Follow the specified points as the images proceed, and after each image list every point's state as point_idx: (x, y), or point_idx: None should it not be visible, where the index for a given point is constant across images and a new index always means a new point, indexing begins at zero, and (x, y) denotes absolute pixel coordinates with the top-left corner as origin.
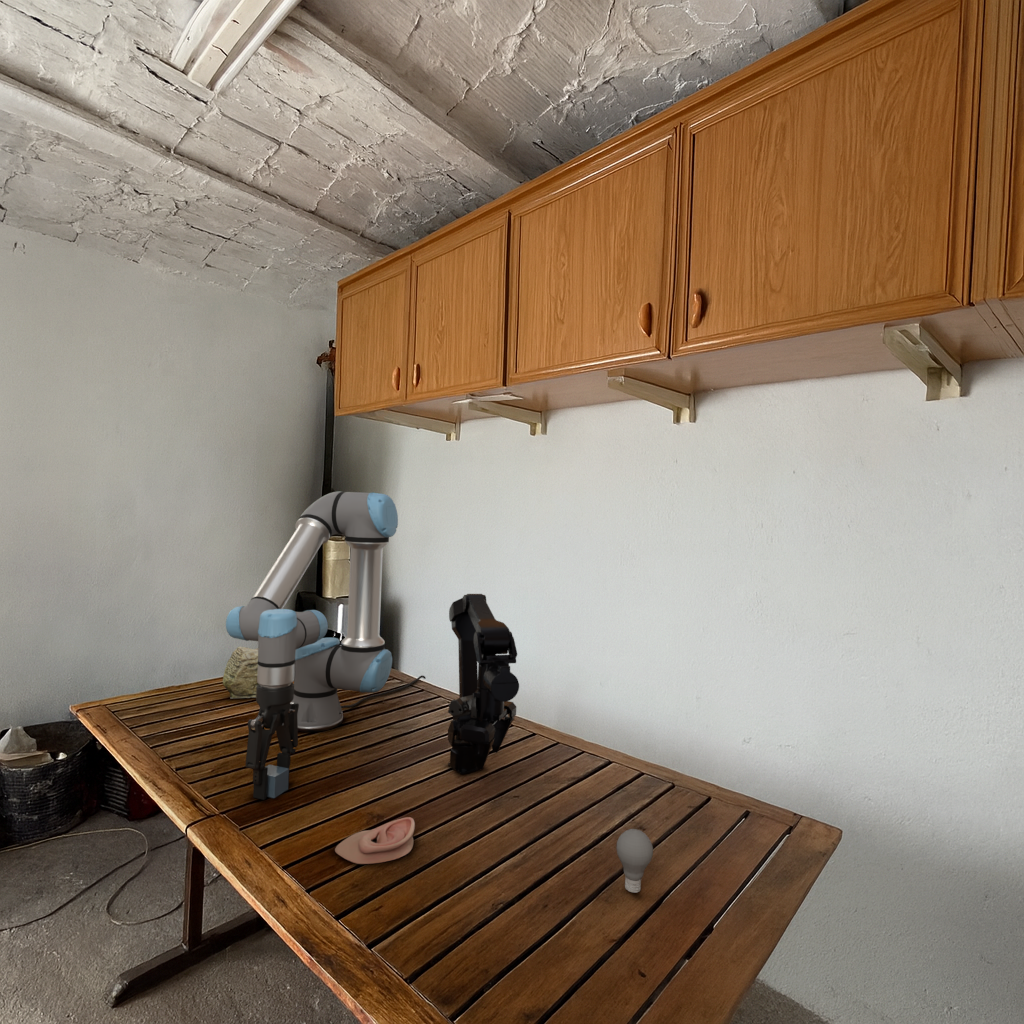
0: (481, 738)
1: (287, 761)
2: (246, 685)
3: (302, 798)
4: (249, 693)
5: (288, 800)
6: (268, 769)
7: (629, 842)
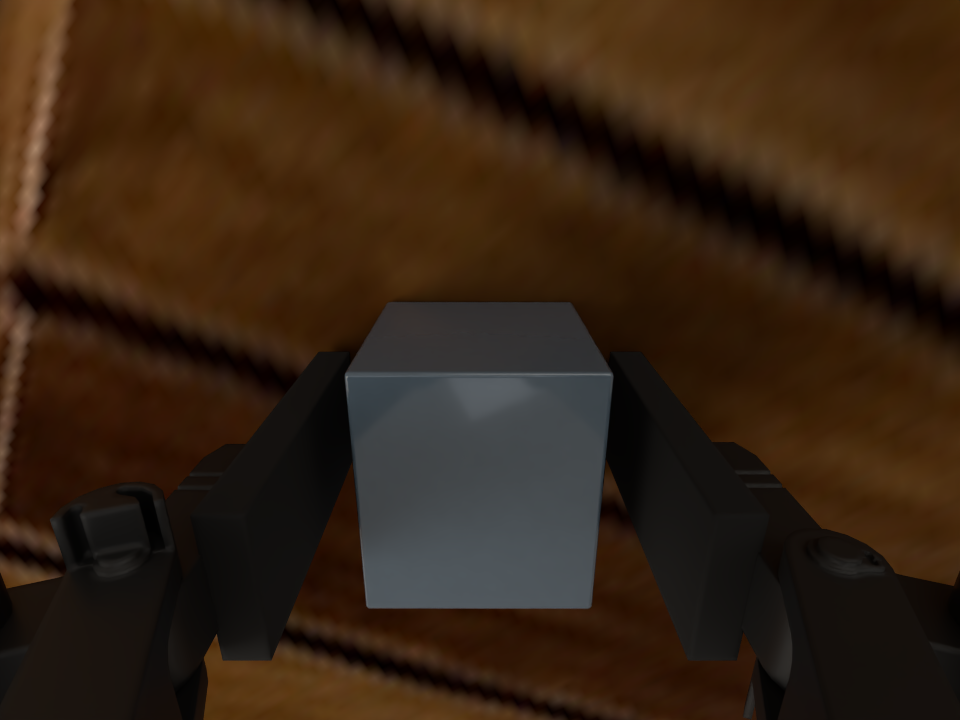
0: None
1: (664, 597)
2: None
3: (482, 622)
4: None
5: None
6: (483, 454)
7: None
